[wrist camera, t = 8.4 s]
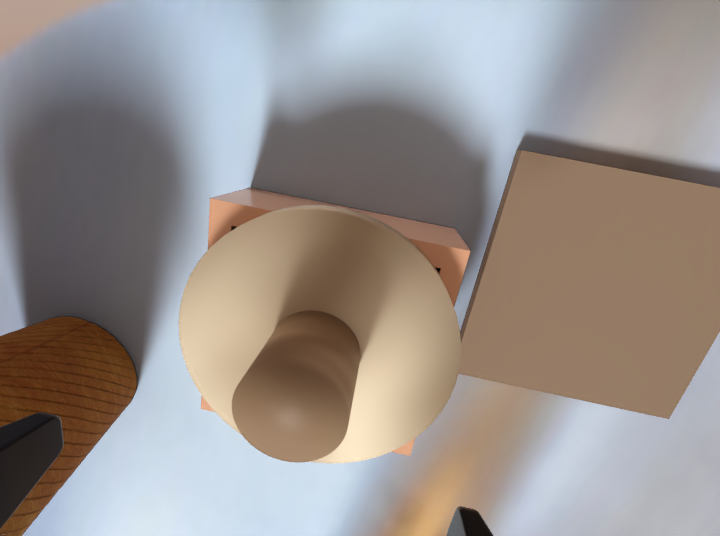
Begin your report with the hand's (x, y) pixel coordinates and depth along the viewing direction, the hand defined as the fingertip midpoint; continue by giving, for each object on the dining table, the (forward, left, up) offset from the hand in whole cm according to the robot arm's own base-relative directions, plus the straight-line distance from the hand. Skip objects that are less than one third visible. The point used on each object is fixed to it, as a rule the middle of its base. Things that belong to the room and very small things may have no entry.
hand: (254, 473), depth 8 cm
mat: (-11, -3, -10) cm, 15 cm away
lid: (0, 0, -6) cm, 6 cm away
